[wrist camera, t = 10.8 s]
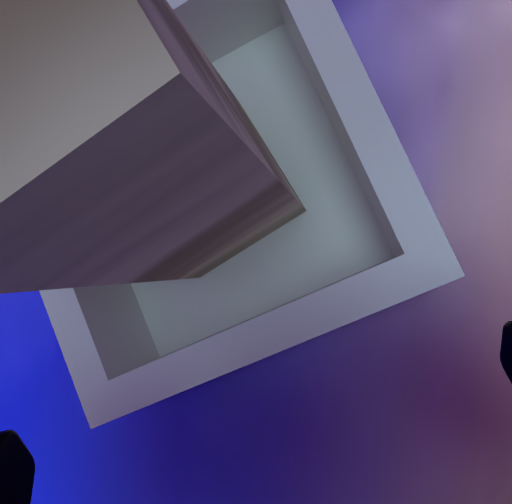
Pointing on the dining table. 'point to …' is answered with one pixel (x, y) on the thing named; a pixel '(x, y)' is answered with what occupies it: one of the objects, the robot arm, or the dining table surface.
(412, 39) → the dining table surface
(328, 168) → the box
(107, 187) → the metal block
